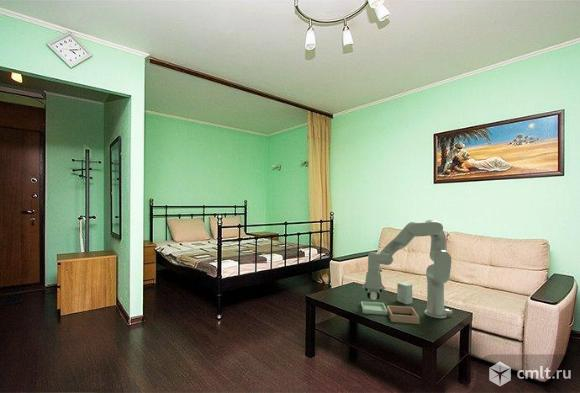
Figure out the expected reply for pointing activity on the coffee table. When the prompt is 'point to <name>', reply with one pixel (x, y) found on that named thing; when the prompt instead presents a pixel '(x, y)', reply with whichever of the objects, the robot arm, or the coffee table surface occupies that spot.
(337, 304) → the coffee table surface
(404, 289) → the small box
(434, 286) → the robot arm
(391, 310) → the tan square frame
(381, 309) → the tray
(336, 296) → the coffee table surface
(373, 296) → the ball
